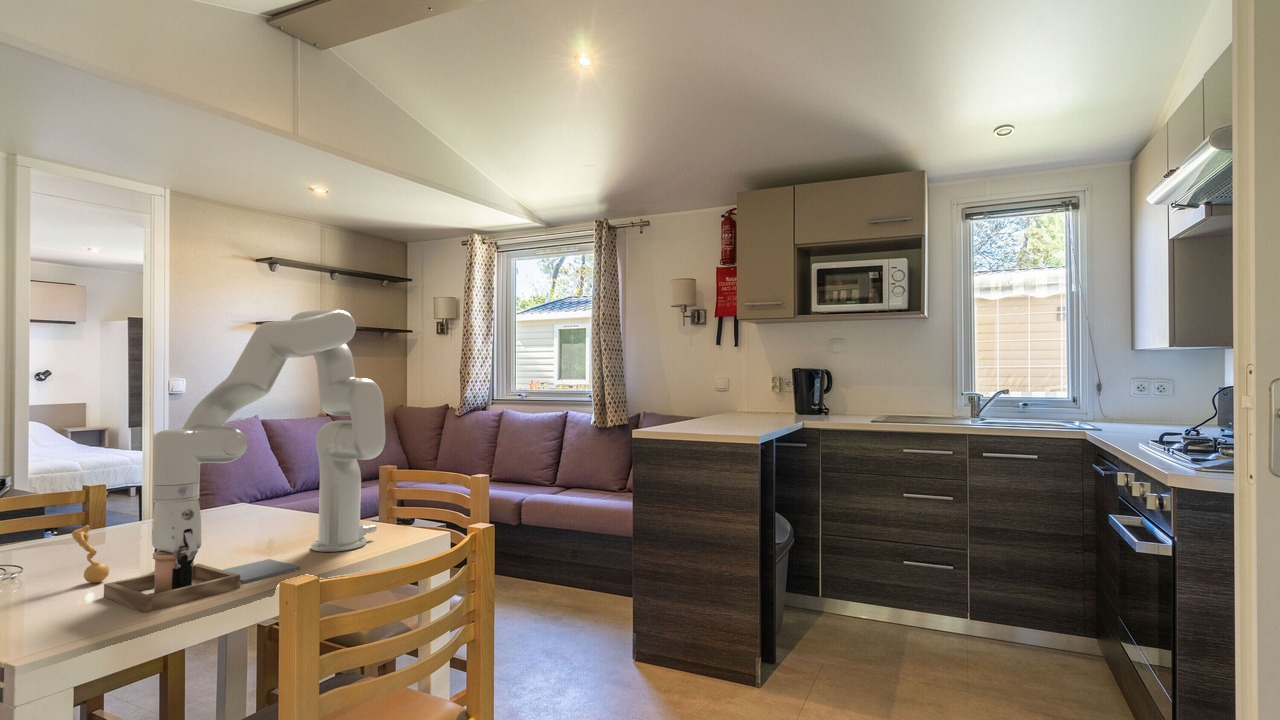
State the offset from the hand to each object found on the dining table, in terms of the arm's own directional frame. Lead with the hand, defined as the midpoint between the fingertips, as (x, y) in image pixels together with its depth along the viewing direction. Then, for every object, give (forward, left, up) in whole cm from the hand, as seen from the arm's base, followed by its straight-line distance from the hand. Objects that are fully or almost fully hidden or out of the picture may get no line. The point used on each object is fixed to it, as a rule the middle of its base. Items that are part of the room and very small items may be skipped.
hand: (173, 584), depth 125 cm
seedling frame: (0, 0, -2) cm, 2 cm away
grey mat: (-16, 0, -2) cm, 16 cm away
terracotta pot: (0, 0, -2) cm, 2 cm away
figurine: (+6, -21, -2) cm, 22 cm away
